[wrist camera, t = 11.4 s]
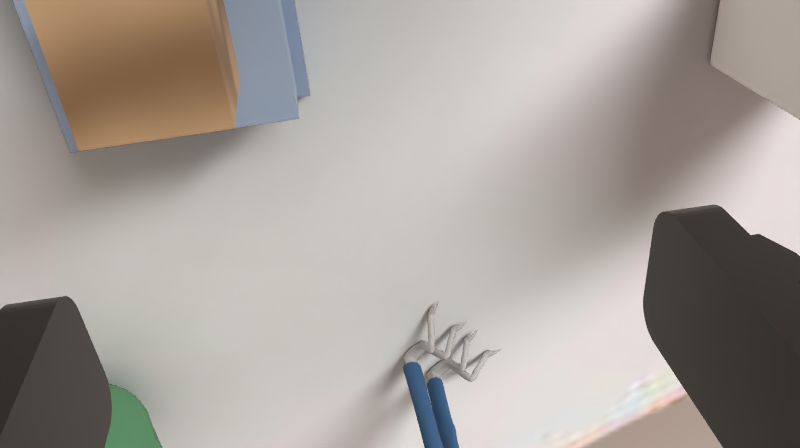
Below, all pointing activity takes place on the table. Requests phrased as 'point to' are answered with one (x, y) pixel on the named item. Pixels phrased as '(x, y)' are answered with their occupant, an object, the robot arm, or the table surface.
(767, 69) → the milk carton
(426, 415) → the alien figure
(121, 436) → the alien toy
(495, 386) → the table surface
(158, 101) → the walnut block
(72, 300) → the robot arm
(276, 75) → the pedestal
